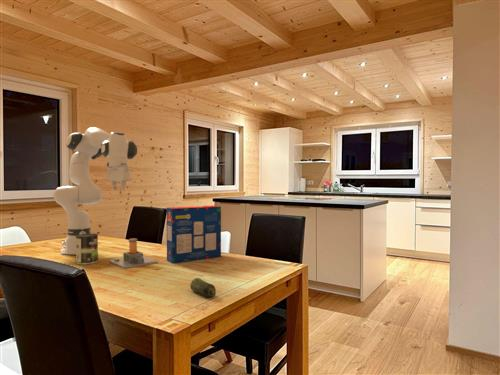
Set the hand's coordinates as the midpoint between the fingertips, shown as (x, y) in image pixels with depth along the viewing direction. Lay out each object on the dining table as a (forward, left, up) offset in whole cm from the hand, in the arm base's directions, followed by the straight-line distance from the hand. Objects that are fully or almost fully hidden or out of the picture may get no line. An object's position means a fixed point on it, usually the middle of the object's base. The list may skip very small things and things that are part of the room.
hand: (118, 190), depth 180 cm
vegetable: (+73, +1, -38) cm, 82 cm away
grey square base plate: (+8, +4, -37) cm, 38 cm away
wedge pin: (+8, +4, -36) cm, 37 cm away
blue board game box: (+22, +32, -37) cm, 54 cm away
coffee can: (-9, -13, -37) cm, 41 cm away
